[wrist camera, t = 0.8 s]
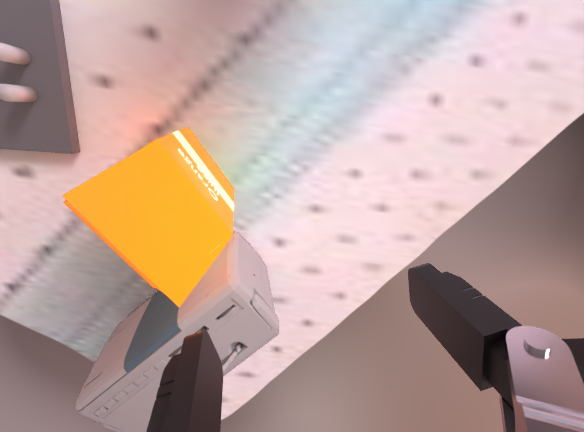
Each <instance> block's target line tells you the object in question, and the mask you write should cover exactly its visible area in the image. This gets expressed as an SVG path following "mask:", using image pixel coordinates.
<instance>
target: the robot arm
mask: <svg viewBox="0 0 584 432" xmlns="http://www.w3.org/2000/svg"><path fill="white" fill-rule="evenodd" d="M408 279H409V293H410V302H411V305H412V307H413V310H414V311H415V313H416V314H417V316H418V317H419V318H420V319H421V320H422V322H423V323H424V324H425V325H426V327H428V329H429V330H430V331H431V332H432V334H433V335H434V336H435V337H436V338H437V340H438V341H439V342H440V343H441V344H442V345H443V347H444V348H445V349H446V350H447V351H448V353H449V354H450V355H451V356H452V357H453V358H454V360H455V361H456V362H457V363H458V364H459V366H460V367H461V368H462V369H463V370H464V372H465V373H466V374H467V375H468V376H469V378H470V379H471V380H472V381H473V382H474V383H475V385H476V386H477V387H478V388H479V389H480V391H482V390H485V389H488V388H491V387H494V388H495V389H496V390H497V391H498V393H499V394H500V407H501V415H502V423H503V431H504V432H584V338H582V339H560V338H559V337H558V336H556V335H555V334H553V333H551V332H549V331H546V330H544V329H541V328H537V327H532V326H522V325H521V324H519V323H518V322H517V321H516V320H514V319H513V318H512V317H510V316H509V315H508V314H507V313H505V312H504V311H503V310H502V309H501V308H499V307H498V306H497V305H495V304H494V303H493V302H492V301H490V300H489V299H488V298H486V297H485V296H482V294H481V293H480V292H479V291H478V290H476V289H473V287H472V286H471V285H470V284H469V283H467V282H466V281H465V280H463V279H462V278H461V277H458V276H456V275H453V274H451V273H449V272H444V273H441V272H440V271H438V270H437V269H436V268H435V267H434V266H432V265H431V264H429V263H426V264H423V265H420V266H416V267H413V268H410V269H409V270H408ZM159 385H160V387H159V388H158V392H157V395H156V400H155V402H154V406H153V409H152V413H151V417H150V420H149V424H148V427H147V431H146V432H220V424H221V406H222V388H223V368H222V363H221V360H220V357H219V355H218V353H217V351H216V348H215V346H214V344H213V342H212V340H211V338H210V335H209V333H208V332H207V331H206V330H205V331H201V332H198V333H195V334H192V335H188V336H186V337H185V338H184V340H183V344H182V349H181V353H180V354H177V355H173V356H172V358H171V359H170V361H169V362H168V364H167V365H166V367H165V368H164V370H163V374H162V377H161V381H160V384H159Z"/></svg>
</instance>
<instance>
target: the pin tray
mask: <svg viewBox="0 0 584 432" xmlns="http://www.w3.org/2000/svg"><path fill="white" fill-rule="evenodd" d="M0 149H14V150H27V151H41V152H55V153H69V154H74V153H77V152H80V147H79V140H78V133H77V126H76V119H75V112H74V105H73V98H72V90H71V83H70V76H69V69H68V62H67V55H66V48H65V41H64V33H63V26H62V19H61V12H60V5H59V0H0Z"/></svg>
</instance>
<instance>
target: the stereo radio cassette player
mask: <svg viewBox="0 0 584 432" xmlns="http://www.w3.org/2000/svg"><path fill="white" fill-rule="evenodd" d="M232 233H233V236H232V238H231V239H230V240H229V242H228V243H227V244H226V246H225V247H224V248H223V250H222V251H221V252H220V254H219V255H218V256H217V258H216V259H215V260H214V262H213V263H212V264H211V266H210V267H209V268H208V270H207V271H206V272H205V274H204V275H203V276H202V278H201V279H200V280H199V282H198V283H197V284H196V286H195V287H194V288H193V290H192V291H191V292H190V294H189V295H188V296H187V298H186V299H185V300H184V302H183V303H182V304H181V306H180V307H178V306H177V305H176V304H175V303H174V302H173V301H172V300H171V299H170V298H169V297H168V296H167V295H165V294H164V293H163V292H161V291H159V292H157V293H156V294H155V295H154V296H152V297H151V298H150V299H149V300H148V301H146V302H145V303H144V304H143V305H141V306H140V307H139V308H138V309H137V310H135V311H134V312H133V313H132V314H130V315H129V316H128V317H127V318H126V319H124V320H123V321H122V322H121V323H120V324H119V325H118V326H117V327H116V329H115V330H114V332H113V333H112V335H111V336H110V338H109V340H108V341H107V343H106V345H105V346H104V348H103V350H102V352H101V353H100V355H99V357H98V359H97V361H96V363H95V364H94V366H93V368H92V370H91V372H90V374H89V376H88V378H87V380H86V382H85V384H84V386H83V388H82V390H81V391H80V394H79V396H78V399H77V401H76V404H75V409H76V410H77V414H79V415H81V416H84V417H86V418H88V419H90V420H92V421H94V422H96V421H100V423H101V425H102V426H103V427H104V428H106V429H108V430H111V431H113V432H146V431H147V427H148V424H149V420H150V417H151V413H152V409H153V406H154V402H155V400H156V395H157V392H158V388H159V387H160V385H159V384H160V381H161V377H162V374H163V370H164V368H165V367H166V365H167V364H168V362H169V361H170V359H171V358H172V356H173V355H177V354H180V353H181V349H182V344H183V340H184V338H185V337H186V336H188V335H192V334H195V333H198V332H201V331H205V330H206V331H207V332H208V333H209V335H210V338H211V340H212V342H213V344H214V346H215V348H216V351H217V353H218V355H219V357H220V360H221V363H222V368H223V376H224V375H226V374H227V373H228V372H230V371H231V370H232V369H234V368H235V367H236V366H237V365H239V364H240V363H241V362H243V361H244V360H245V359H247V358H248V357H249V356H251V355H252V354H253V353H254V352H256V351H257V350H258V349H260V348H261V347H262V346H264V345H265V344H266V343H268V342H269V341H270V340H271V339H273V338H274V337H275V336H277V335H278V334H279V320H278V317H277V315H276V314H275V310H274V305H273V299H272V294H271V289H270V283H269V278H268V273H267V267H266V264H265V263H264V261H263V260H262V258H261V257H260V256H259V254H258V253H257V252H256V251H255V250H254V248H253V247H252V246H251V245H250V244H249V243H248V242H247V241H246V240H245V239H244V238H243V237H242V236H241V235H240V234H239V233H237V232H235V231H234V232H232Z"/></svg>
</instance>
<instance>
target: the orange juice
mask: <svg viewBox="0 0 584 432" xmlns="http://www.w3.org/2000/svg"><path fill="white" fill-rule="evenodd" d="M62 196H63V197H64V198H65V201H64V202H63V203H64V204H66V205H67V206H68V207H69V208H70V209H71V210H72V211H73V212H74V213H75V214H76V215H77V216H78V217H79V218H80V219H81V220H82V221H83V222H85V223H86V224H87V225H88V226H89V227H90V228H91V229H92V230H93V231H94V232H95V233H96V234H97V235H98V236H99V237H100V238H101V239H102V240H103V241H105V242H106V243H107V244H108V245H109V246H110V247H111V248H112V249H113V250H114V251H115V252H116V253H117V254H118V255H119V256H120V257H121V258H122V259H123V260H125V261H126V262H127V263H128V264H129V265H130V266H131V267H132V268H133V269H134V270H135V271H136V272H137V273H138V274H139V275H140V276H141V277H142V278H143V279H145V280H146V281H147V282H148V283H149V284H150V285H151V286H152V287H153V288H157V289H158V290H160V291H161V292H163V293H164V294H165V295H167V296H168V297H169V298H170V299H171V300H172V301H173V302H174V303H175V304H176V305H177V306H178V307H180V306H181V304H182V303H183V302H184V300H185V299H186V298H187V296H188V295H189V294H190V292H191V291H192V290H193V288H194V287H195V286H196V284H197V283H198V282H199V280H200V279H201V278H202V276H203V275H204V274H205V272H206V271H207V270H208V268H209V267H210V266H211V264H212V263H213V262H214V260H215V259H216V258H217V256H218V255H219V254H220V252H221V251H222V250H223V248H224V247H225V246H226V244H227V243H228V242H229V240H230V239H231V238H232V236H233V233H232V232H233V212H234V188H233V186H232V185H231V184H230V182H229V181H228V180H227V178H226V177H225V176H224V174H223V173H222V172H221V170H220V169H219V167H218V166H217V165H216V163H215V162H214V161H213V159H212V158H211V157H210V155H209V154H208V153H207V151H206V150H205V149H204V147H203V146H202V144H201V143H200V142H199V140H198V139H197V138H196V136H195V135H194V134H193V132H192V131H191V130H190V128H189V127H187V128H185V129H182V130H180V131H179V130H178V131H175V132H173V133H171V134H169V135H167V136H164V137H161V138H159V139H156V140H154V141H152V142H151V143H149V144H148V145H146V146H145V147H143V148H142V149H140V150H139V151H137V152H135V153H134V154H132V155H130V156H129V157H127V158H125V159H124V160H122V161H120V162H118V163H117V164H115V165H113V166H112V167H110V168H108V169H107V170H105V171H103V172H101V173H100V174H98V175H96V176H95V177H93V178H91V179H89V180H88V181H86V182H84V183H83V184H81V185H79V186H78V187H76V188H74V189H72V190H71V191H69V192H67V193H66V194H64V195H62Z"/></svg>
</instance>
